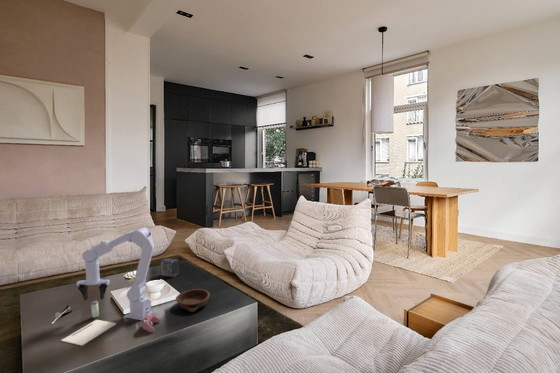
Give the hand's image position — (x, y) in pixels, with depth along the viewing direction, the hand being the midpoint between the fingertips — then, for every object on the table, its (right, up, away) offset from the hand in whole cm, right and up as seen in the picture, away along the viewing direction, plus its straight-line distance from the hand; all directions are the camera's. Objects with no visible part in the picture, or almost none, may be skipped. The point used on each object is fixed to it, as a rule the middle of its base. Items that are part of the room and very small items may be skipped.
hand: (94, 298), depth 156 cm
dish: (+45, -8, +13) cm, 48 cm away
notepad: (+5, -11, -12) cm, 17 cm away
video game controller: (+32, -10, -9) cm, 35 cm away
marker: (0, -10, +1) cm, 10 cm away
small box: (+18, -4, +56) cm, 59 cm away
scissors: (-19, -10, +5) cm, 22 cm away
